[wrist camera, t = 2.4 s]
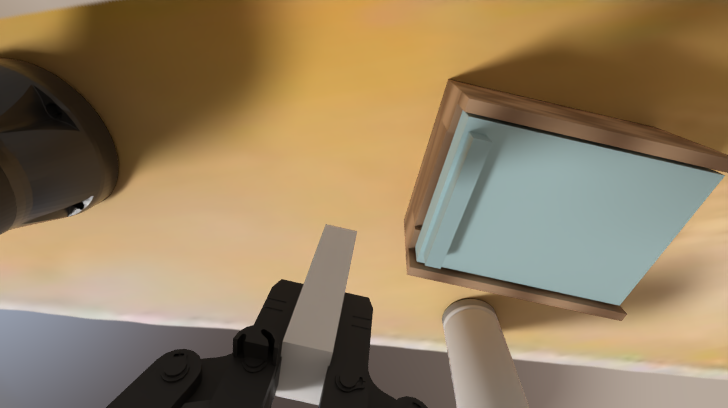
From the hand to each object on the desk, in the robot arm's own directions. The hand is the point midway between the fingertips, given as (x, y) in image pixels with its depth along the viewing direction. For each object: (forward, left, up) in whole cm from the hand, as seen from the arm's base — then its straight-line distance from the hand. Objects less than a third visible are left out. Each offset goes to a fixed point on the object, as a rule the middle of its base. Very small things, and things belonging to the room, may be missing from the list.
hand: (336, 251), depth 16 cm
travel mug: (+17, -18, -17) cm, 30 cm away
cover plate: (+15, 0, -11) cm, 18 cm away
